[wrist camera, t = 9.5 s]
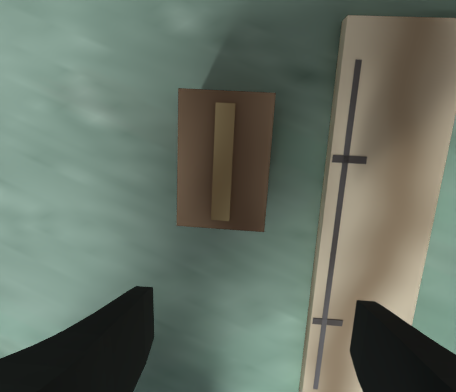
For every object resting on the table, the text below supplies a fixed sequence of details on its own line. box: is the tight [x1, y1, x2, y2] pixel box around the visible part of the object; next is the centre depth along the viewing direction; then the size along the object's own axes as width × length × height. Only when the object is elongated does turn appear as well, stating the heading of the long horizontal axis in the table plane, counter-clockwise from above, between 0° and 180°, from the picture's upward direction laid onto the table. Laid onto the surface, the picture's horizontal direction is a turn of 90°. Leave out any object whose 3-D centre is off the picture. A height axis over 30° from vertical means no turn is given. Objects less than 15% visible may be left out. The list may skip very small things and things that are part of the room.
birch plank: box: [299, 15, 456, 392], centre depth 19 cm, size 6×24×1 cm, turn 177°
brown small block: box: [177, 88, 276, 232], centre depth 16 cm, size 4×6×5 cm, turn 177°
